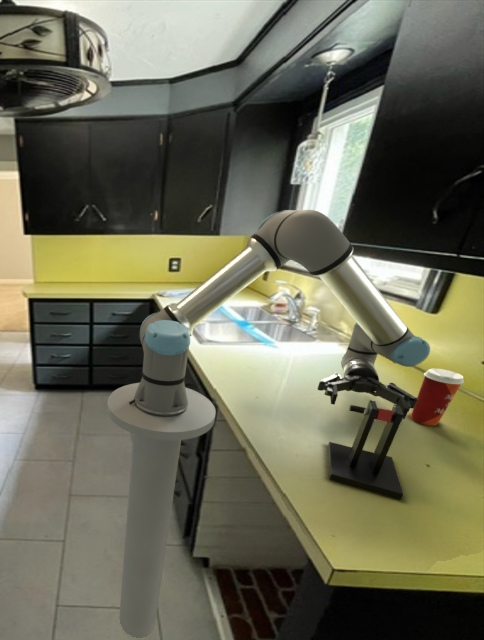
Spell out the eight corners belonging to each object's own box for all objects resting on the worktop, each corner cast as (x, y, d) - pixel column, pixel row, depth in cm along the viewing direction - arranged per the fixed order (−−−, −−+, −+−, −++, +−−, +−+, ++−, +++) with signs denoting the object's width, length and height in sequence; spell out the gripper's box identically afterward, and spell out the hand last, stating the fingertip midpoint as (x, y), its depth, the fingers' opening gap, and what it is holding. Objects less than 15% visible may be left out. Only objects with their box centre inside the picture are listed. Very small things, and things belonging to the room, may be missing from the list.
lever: (348, 412, 85) (350, 402, 84) (390, 421, 81) (393, 411, 81) (358, 416, 74) (362, 404, 74) (408, 426, 70) (412, 414, 70)
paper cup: (444, 430, 94) (468, 381, 88) (406, 421, 98) (427, 374, 92) (440, 418, 100) (463, 372, 94) (405, 410, 104) (424, 365, 98)
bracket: (327, 446, 87) (347, 387, 81) (389, 462, 82) (416, 400, 75) (329, 479, 76) (352, 414, 70) (401, 500, 71) (434, 431, 64)
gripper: (411, 398, 98) (430, 434, 81) (306, 378, 110) (303, 407, 93) (422, 372, 95) (444, 405, 78) (312, 355, 106) (311, 380, 90)
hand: (368, 406), depth 86 cm, fingers open, 13 cm apart
